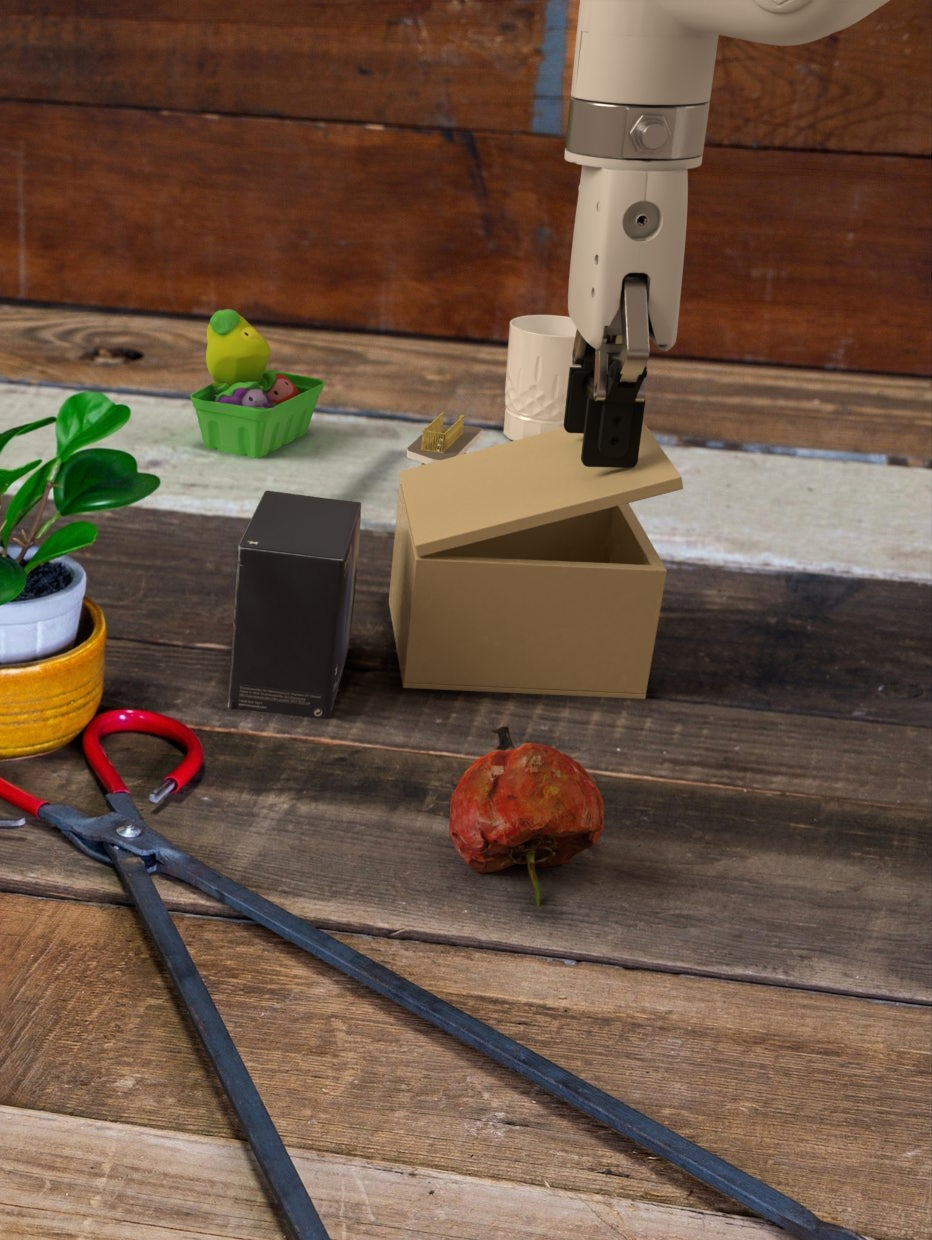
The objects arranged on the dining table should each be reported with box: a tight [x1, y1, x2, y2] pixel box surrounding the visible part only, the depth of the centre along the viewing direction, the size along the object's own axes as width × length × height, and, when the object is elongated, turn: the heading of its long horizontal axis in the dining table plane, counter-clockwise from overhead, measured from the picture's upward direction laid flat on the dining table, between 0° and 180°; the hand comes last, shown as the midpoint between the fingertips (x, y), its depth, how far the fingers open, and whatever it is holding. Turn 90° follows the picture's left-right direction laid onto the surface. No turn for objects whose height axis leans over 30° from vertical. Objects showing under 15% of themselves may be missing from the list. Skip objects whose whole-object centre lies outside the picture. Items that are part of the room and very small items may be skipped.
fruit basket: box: [189, 308, 326, 459], centre depth 143 cm, size 11×9×11 cm
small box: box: [226, 490, 362, 720], centre depth 100 cm, size 11×6×10 cm, turn 170°
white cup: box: [503, 314, 581, 441], centre depth 148 cm, size 8×8×10 cm
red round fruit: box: [448, 725, 605, 908], centre depth 82 cm, size 7×7×10 cm
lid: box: [398, 371, 684, 557], centre depth 101 cm, size 15×14×5 cm
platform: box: [406, 411, 483, 465], centre depth 132 cm, size 12×18×7 cm, turn 157°
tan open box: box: [388, 483, 668, 700], centre depth 106 cm, size 15×14×9 cm
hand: (598, 445), depth 101 cm, fingers closed on lid, 6 cm apart
